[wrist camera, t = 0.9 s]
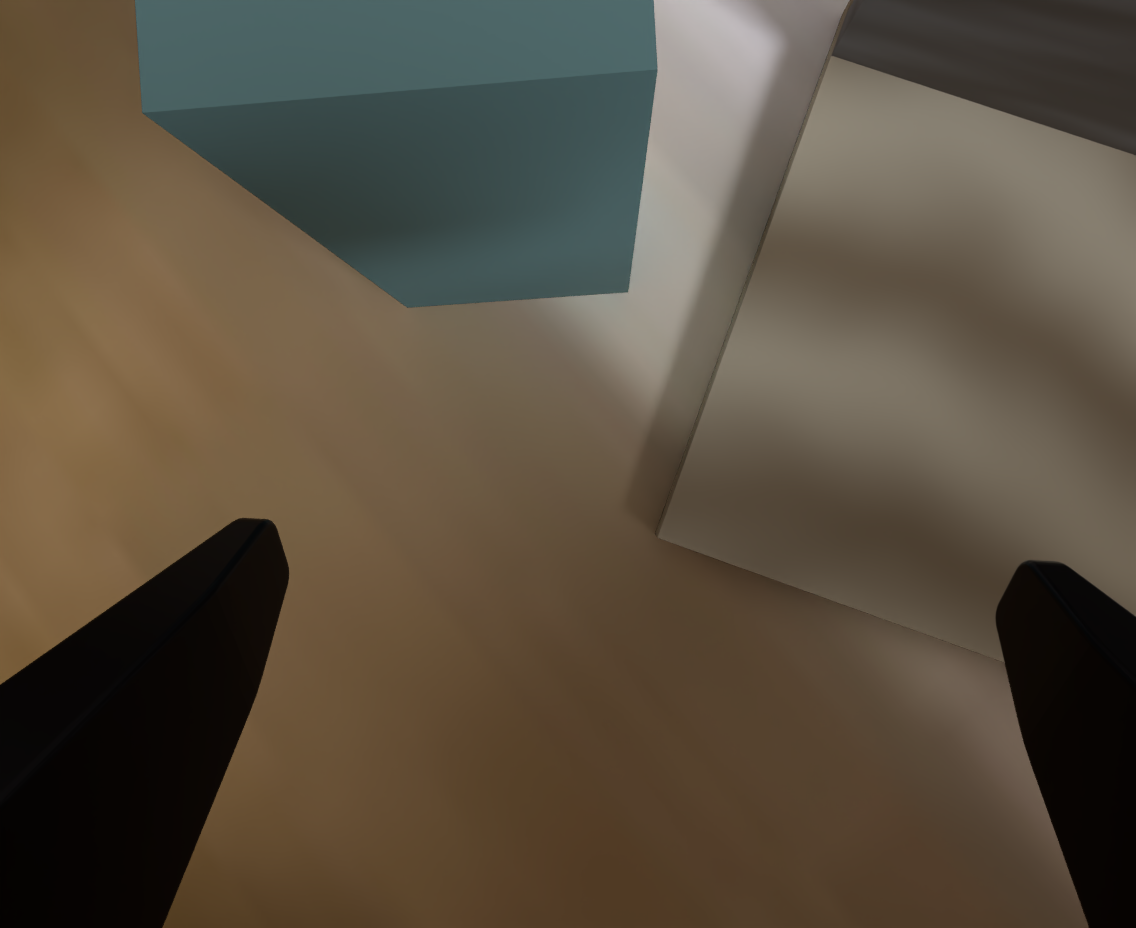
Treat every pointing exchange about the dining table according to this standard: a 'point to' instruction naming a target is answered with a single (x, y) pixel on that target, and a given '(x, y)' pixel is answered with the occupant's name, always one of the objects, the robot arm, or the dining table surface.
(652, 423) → the dining table surface
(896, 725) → the dining table surface
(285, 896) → the dining table surface
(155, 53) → the tall teal pillar
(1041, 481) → the grey l-shaped bracket
